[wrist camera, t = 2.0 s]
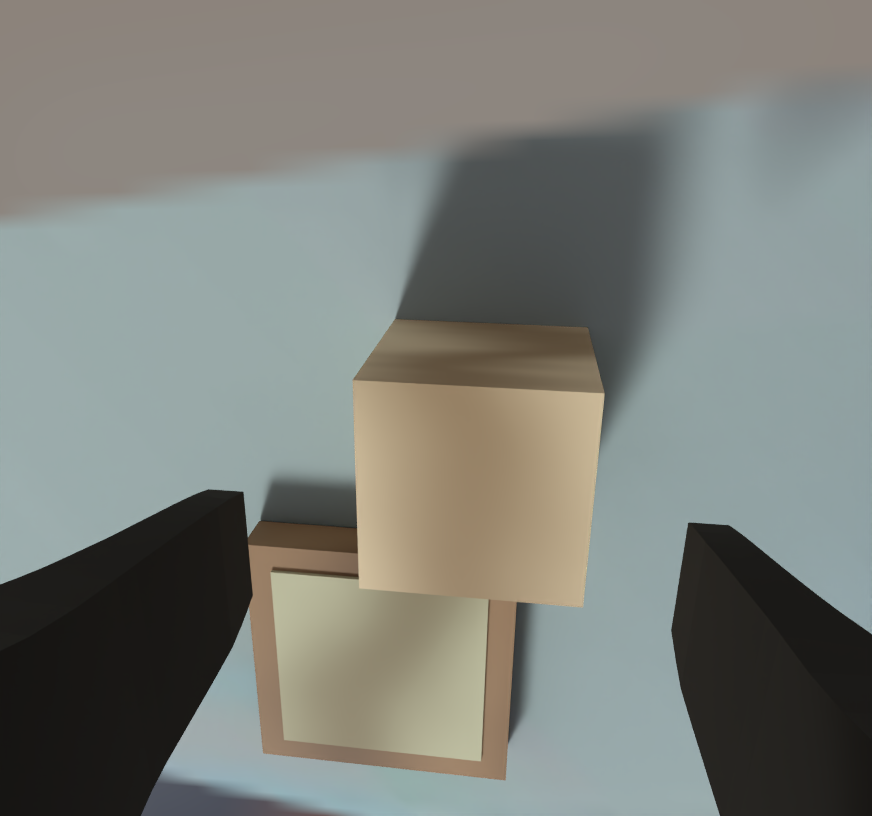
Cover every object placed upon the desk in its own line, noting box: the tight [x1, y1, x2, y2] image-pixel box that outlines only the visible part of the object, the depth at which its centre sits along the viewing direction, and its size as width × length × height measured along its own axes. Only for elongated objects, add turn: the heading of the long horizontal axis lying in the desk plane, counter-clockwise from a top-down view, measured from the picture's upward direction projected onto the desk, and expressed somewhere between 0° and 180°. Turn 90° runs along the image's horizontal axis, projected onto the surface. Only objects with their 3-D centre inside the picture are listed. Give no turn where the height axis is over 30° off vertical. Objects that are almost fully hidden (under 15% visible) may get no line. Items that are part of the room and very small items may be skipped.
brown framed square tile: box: [248, 521, 517, 780], centre depth 20 cm, size 7×7×1 cm
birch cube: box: [353, 319, 605, 607], centre depth 16 cm, size 4×4×4 cm
